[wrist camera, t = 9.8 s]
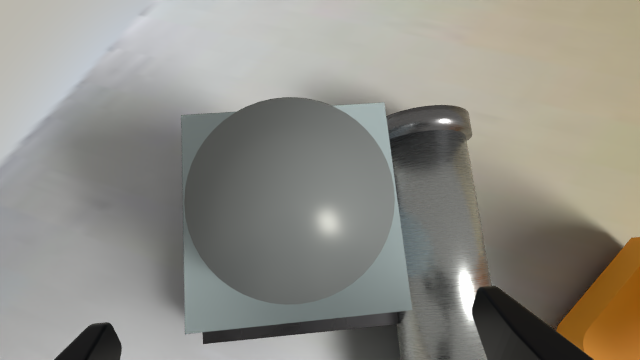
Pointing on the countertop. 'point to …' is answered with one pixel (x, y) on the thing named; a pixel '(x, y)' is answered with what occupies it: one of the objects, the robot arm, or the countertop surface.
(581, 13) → the countertop surface
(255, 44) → the countertop surface
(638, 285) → the bracket
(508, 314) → the robot arm
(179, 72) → the countertop surface
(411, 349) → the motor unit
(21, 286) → the countertop surface
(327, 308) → the grey capped bottle
